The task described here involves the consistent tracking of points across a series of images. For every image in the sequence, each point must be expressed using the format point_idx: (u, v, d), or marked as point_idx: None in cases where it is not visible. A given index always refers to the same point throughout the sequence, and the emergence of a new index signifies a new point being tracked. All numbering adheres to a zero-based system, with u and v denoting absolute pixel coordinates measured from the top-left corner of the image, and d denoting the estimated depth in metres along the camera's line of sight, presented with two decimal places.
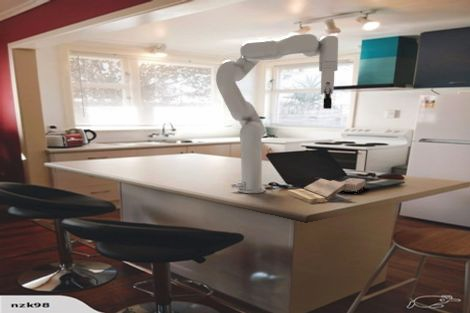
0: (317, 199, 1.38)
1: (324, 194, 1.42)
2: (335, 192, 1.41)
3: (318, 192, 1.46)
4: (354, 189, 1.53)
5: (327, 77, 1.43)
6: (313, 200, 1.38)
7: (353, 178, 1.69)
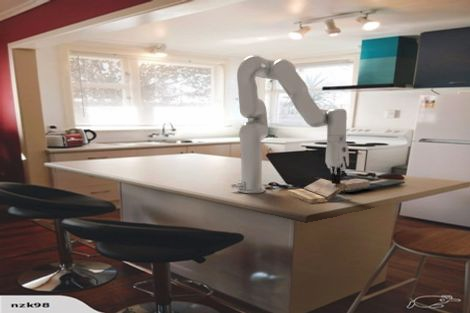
0: (317, 199, 1.38)
1: (324, 194, 1.42)
2: (335, 192, 1.41)
3: (318, 192, 1.46)
4: None
5: None
6: (313, 200, 1.38)
7: (359, 179, 1.67)
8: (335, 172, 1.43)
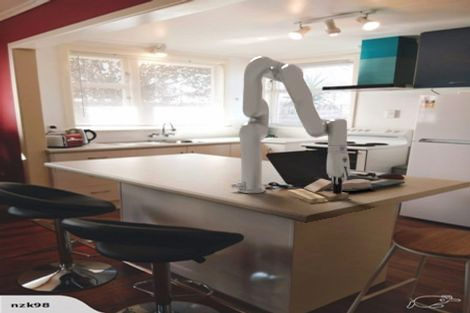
0: (317, 199, 1.38)
1: (326, 195, 1.43)
2: (337, 197, 1.42)
3: (320, 193, 1.46)
4: None
5: None
6: (313, 200, 1.38)
7: (362, 179, 1.66)
8: (336, 182, 1.44)
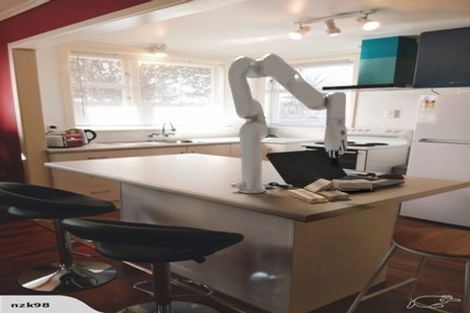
0: (317, 199, 1.38)
1: (326, 195, 1.43)
2: (337, 197, 1.42)
3: (320, 193, 1.46)
4: (338, 187, 1.58)
5: None
6: (313, 200, 1.38)
7: None
8: (333, 155, 1.43)
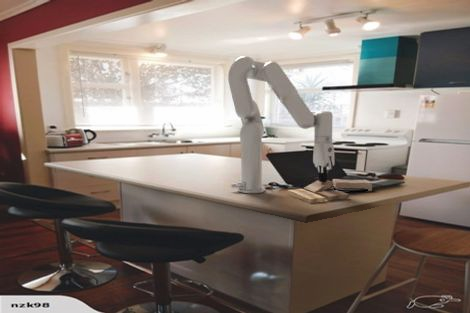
0: (317, 199, 1.38)
1: (326, 195, 1.43)
2: (337, 197, 1.42)
3: (320, 193, 1.46)
4: (335, 186, 1.59)
5: None
6: (313, 200, 1.38)
7: (366, 180, 1.63)
8: (322, 171, 1.52)
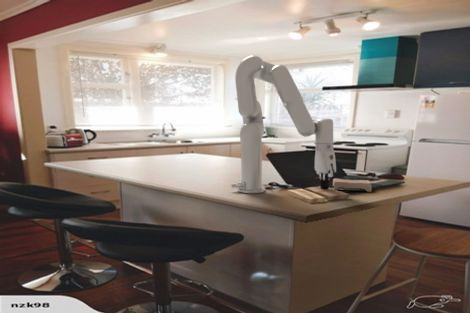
0: (317, 199, 1.38)
1: (326, 195, 1.43)
2: (337, 197, 1.42)
3: (320, 193, 1.46)
4: (334, 186, 1.61)
5: None
6: (313, 200, 1.38)
7: (367, 180, 1.62)
8: (323, 178, 1.52)
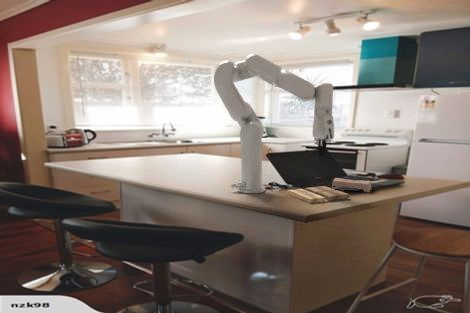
0: (317, 199, 1.38)
1: (326, 195, 1.43)
2: (337, 197, 1.42)
3: (320, 193, 1.46)
4: None
5: None
6: (313, 200, 1.38)
7: (369, 181, 1.61)
8: (321, 144, 1.51)
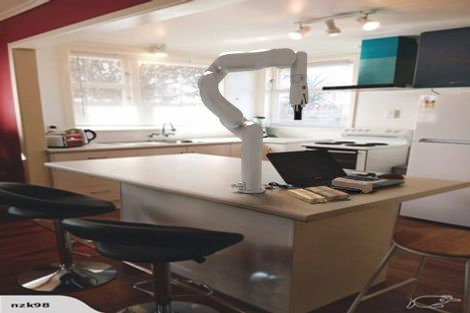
0: (317, 199, 1.38)
1: (326, 195, 1.43)
2: (337, 197, 1.42)
3: (320, 193, 1.46)
4: None
5: None
6: (313, 200, 1.38)
7: (369, 182, 1.59)
8: (297, 109, 1.60)
